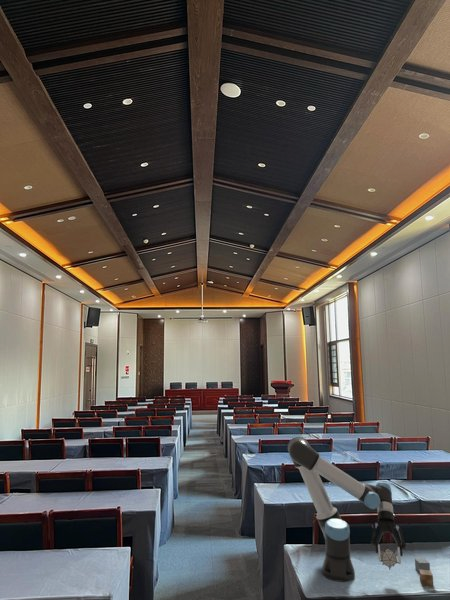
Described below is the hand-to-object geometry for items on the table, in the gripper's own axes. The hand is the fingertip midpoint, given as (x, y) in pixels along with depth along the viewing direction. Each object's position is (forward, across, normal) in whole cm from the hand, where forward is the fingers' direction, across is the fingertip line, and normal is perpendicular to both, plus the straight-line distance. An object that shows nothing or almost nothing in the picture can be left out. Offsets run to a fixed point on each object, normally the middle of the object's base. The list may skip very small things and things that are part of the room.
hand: (389, 561), depth 204 cm
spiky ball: (0, 0, -5) cm, 5 cm away
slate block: (-7, -17, -21) cm, 28 cm away
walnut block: (+3, -16, -12) cm, 20 cm away
